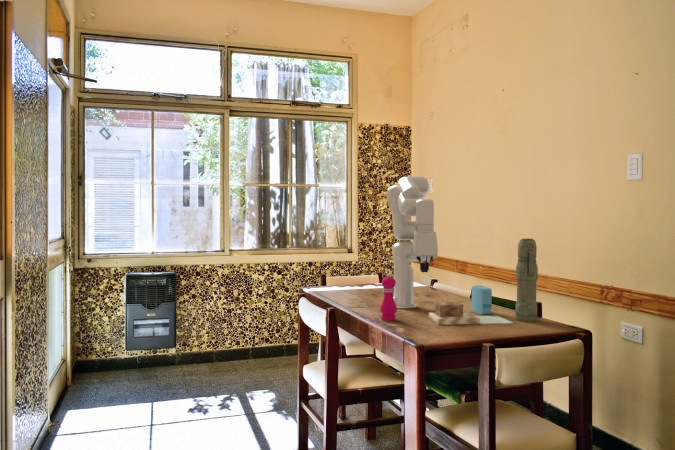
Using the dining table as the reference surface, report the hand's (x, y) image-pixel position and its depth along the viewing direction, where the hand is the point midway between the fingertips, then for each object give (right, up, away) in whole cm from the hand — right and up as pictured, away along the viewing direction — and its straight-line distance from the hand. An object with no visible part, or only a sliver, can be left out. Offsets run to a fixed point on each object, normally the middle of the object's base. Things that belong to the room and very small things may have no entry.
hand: (424, 271), depth 230 cm
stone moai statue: (+45, -21, +5) cm, 50 cm away
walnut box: (+11, -19, +2) cm, 22 cm away
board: (+13, -21, +2) cm, 25 cm away
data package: (+30, -21, +21) cm, 42 cm away
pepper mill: (-15, -21, +5) cm, 26 cm away
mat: (+29, -21, +4) cm, 36 cm away
